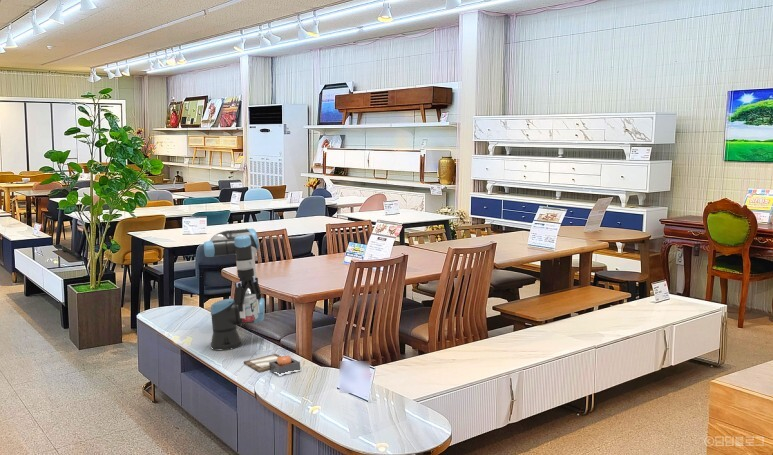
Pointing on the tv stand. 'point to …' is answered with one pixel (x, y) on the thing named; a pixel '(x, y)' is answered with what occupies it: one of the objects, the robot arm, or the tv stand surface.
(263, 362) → the wooden picture frame
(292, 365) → the button housing
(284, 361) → the button cap
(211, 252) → the robot arm
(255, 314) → the ink box
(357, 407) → the tv stand surface
